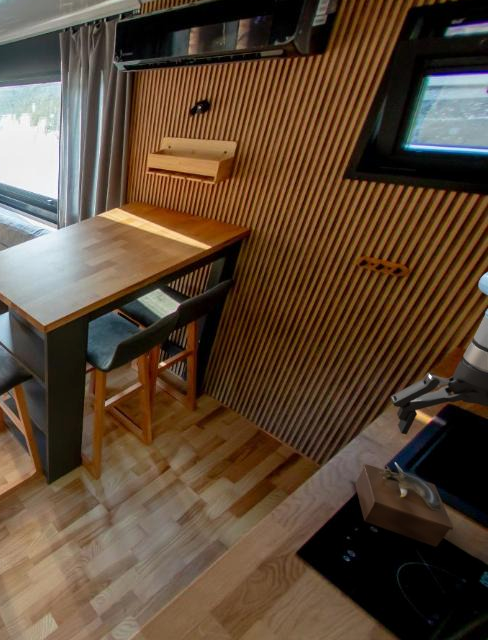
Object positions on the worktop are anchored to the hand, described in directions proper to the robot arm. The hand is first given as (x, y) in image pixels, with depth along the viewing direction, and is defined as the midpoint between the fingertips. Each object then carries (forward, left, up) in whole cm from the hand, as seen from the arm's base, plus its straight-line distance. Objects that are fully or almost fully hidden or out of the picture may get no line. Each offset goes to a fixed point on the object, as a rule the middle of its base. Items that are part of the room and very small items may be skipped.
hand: (449, 440), depth 79 cm
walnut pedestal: (+3, +4, -23) cm, 24 cm away
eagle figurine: (+3, +4, -15) cm, 16 cm away
